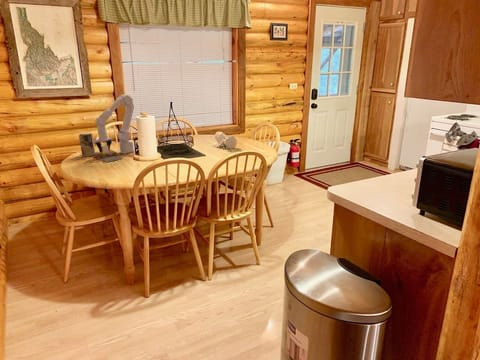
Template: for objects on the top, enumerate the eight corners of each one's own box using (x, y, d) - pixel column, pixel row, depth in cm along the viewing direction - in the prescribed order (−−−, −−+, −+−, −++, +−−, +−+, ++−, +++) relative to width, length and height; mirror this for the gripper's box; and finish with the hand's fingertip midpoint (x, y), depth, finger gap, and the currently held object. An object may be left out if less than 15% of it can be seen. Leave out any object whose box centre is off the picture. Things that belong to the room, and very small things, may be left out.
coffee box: (95, 153, 286) (92, 133, 281) (94, 155, 280) (91, 134, 275) (82, 154, 284) (79, 133, 278) (81, 156, 278) (78, 135, 272)
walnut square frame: (110, 152, 288) (110, 149, 287) (117, 155, 280) (117, 152, 279) (92, 156, 279) (92, 152, 278) (99, 159, 271) (99, 155, 270)
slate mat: (116, 156, 277) (116, 155, 277) (122, 159, 270) (122, 158, 270) (100, 159, 270) (100, 159, 269) (106, 162, 263) (106, 161, 262)
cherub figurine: (223, 137, 287) (210, 130, 302) (223, 152, 293) (210, 145, 307) (237, 135, 295) (223, 128, 309) (237, 149, 300) (223, 142, 314)
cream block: (106, 154, 282) (105, 144, 280) (109, 155, 279) (107, 145, 277) (101, 155, 280) (99, 145, 277) (103, 157, 277) (102, 146, 274)
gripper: (109, 131, 281) (111, 148, 286) (90, 134, 272) (92, 152, 276) (113, 132, 276) (115, 150, 281) (94, 135, 267) (96, 153, 272)
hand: (104, 151), depth 278 cm, fingers open, 6 cm apart
